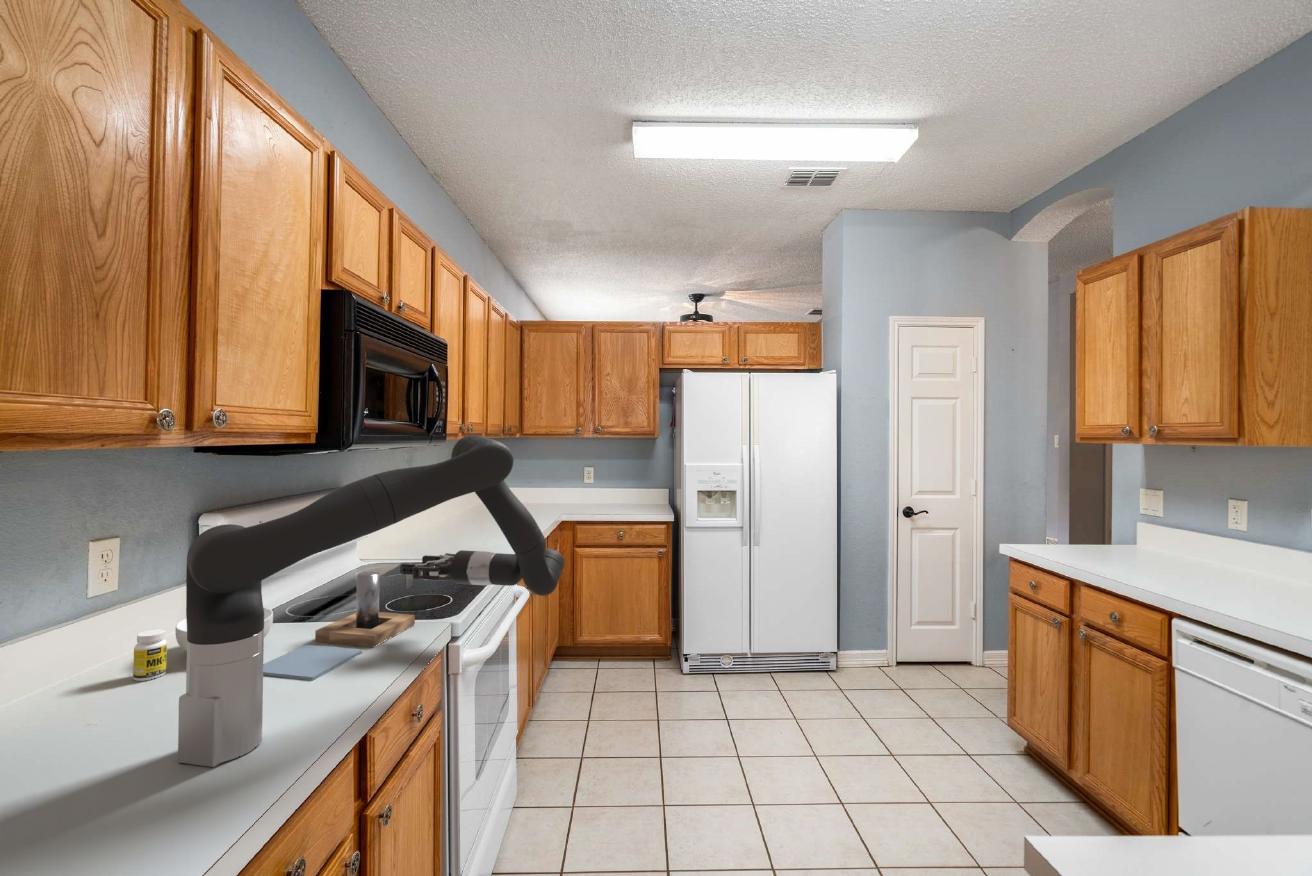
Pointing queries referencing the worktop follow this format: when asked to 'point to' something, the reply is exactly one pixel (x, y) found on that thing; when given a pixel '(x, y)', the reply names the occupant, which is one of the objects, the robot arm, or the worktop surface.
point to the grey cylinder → (367, 600)
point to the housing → (364, 630)
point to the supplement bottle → (150, 655)
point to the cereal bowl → (182, 628)
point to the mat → (308, 662)
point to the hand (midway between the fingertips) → (412, 564)
